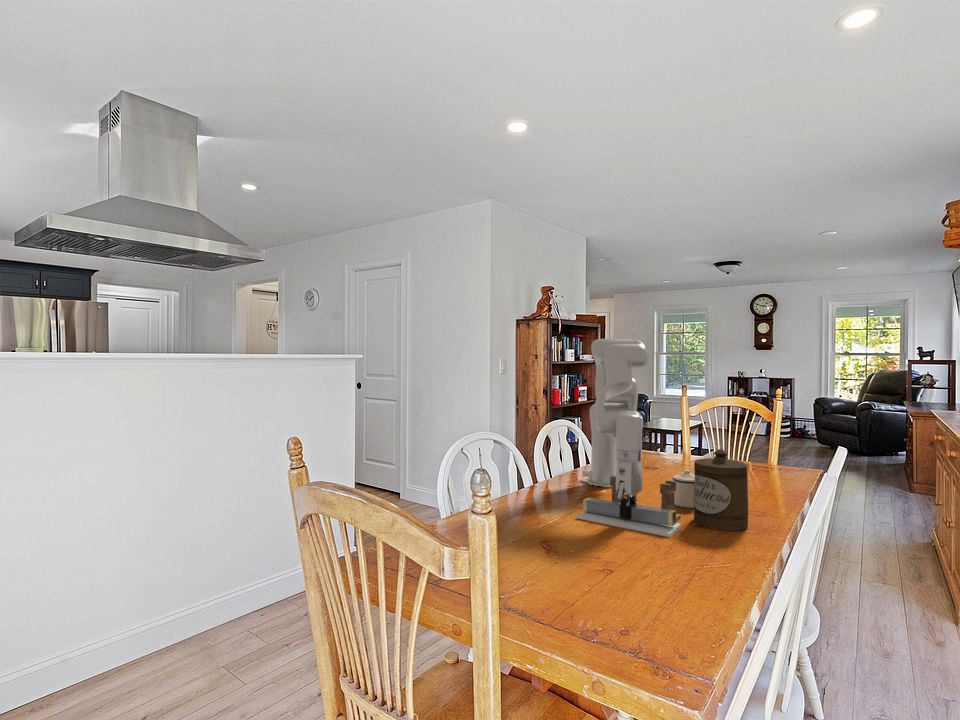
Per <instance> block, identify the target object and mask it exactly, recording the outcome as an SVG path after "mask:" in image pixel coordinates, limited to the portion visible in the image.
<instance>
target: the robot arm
mask: <svg viewBox="0 0 960 720" xmlns="http://www.w3.org/2000/svg"><path fill="white" fill-rule="evenodd" d="M590 351H591V354H592V358H593V360H594V362H595V382H594V394H595V398H596V399H595V403H594V404H592V405H591V406H590V407H589V419H590V420H589V421H590V426H591V427H590V428H591V431H590V432H591V453H590V455H591V456H590V457H591V464H590V465H591V466H590V467H591V468H590V469H591V470H589V471H588V470H582V473H581V474H582V476H583V477H587V480H586V483H587V484H588V485H590V486H592V485H594V487H597V486H601V487H600V488H612V486H610V476H616V493H617V494H618V496H617V498H618V499H619V505H620V518H623V519H628V520H630V519H631V506H629V505H630V504H635V505H637V499H638V498H637V495H638V494H639V493H641V492H642V491H643V467H642V461H643V460H642V459H643V456H642V455H643V449H642V448H643V429H644V418H643V416H642V415H641V413H640V412H638V411H637V409H638V402H639V401H638V400H639V399H638V397H639V386H638V383H637V380H636V379H635V378H633V372H632V369H634V370H635V369H638V370H641V369H642V370H643V369H645V368H646V367H647V366H648V363H649V352H648V349H647V347H646V345H645V344H644V343H643V342H642V341H641V340H639V339H635V338H598V339H597V338H596V339H595V340H593V341H592V343H591V350H590Z"/></svg>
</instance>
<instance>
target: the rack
mask: <svg viewBox="0 0 960 720" xmlns="http://www.w3.org/2000/svg"><path fill="white" fill-rule="evenodd" d="M610 486H612V487H611V501H615V502H619V499H618V498H617V496H618V494H617V493H616V476H610ZM673 491H674V492H673ZM675 491H676V481H673V480H669V479H666V480H665V483H663V482H660V483H659V494H661V505H660V506H661V507H660V508H662V509H669V510H675V504H674V494H675ZM681 515H682V514H679V513H676V522H677V521H678V520H680V519H681V517H682V516H681Z"/></svg>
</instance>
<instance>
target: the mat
mask: <svg viewBox="0 0 960 720" xmlns="http://www.w3.org/2000/svg"><path fill="white" fill-rule="evenodd" d="M576 519H578V520H584V521H588V522H593V523H597V524H598V523H599V524H603V525H608V526H613V527H617V528H623V529H626V530H627V529H628V530H633V531H636V532H637V531H638V532H642V533H647V534H651V535H658V536H660V537H661V536H662V537H666V538H671V537H672V536H674V534H675V533H677V532H678V531H679V530H680V529H682V527H683V526H682V523H679V522H676V524H675V525H673V526H667V525H661V524H655V523H649V522H643V521H637V520H631V519H630V520H628V519H623V518H619V517H613V516H607V515H601V514H595V513H589V512H583V511H582V512H580V513H577V514H576Z"/></svg>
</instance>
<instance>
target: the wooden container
mask: <svg viewBox="0 0 960 720" xmlns="http://www.w3.org/2000/svg"><path fill="white" fill-rule="evenodd" d="M713 454H714V457H713V458H699V459H698V458H697V459H695V460H694V463H693V466H694V467H693V468H694V475H695V480H694V508H693V521H694V522H695V523H696V524H698V525H699V526H702V527H705V528H708V529H712V530H713V529H714V530H718V531H727V532H728V531H729V532H730V531H731V532H733V531H742V530H745V529H747V528H748V527H749V483H748V482H749V481H748V479H749V477H748V476H749V475H748V474H749V473H748V470H749V469H748V463H745V462H744V461H740V460H739V461H738V460H733V459H728V458H727V457H726V456H727V455H728V454H727V451H726V450H724V449H722V448H721V449H717V450H715V451H714V453H713Z"/></svg>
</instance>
